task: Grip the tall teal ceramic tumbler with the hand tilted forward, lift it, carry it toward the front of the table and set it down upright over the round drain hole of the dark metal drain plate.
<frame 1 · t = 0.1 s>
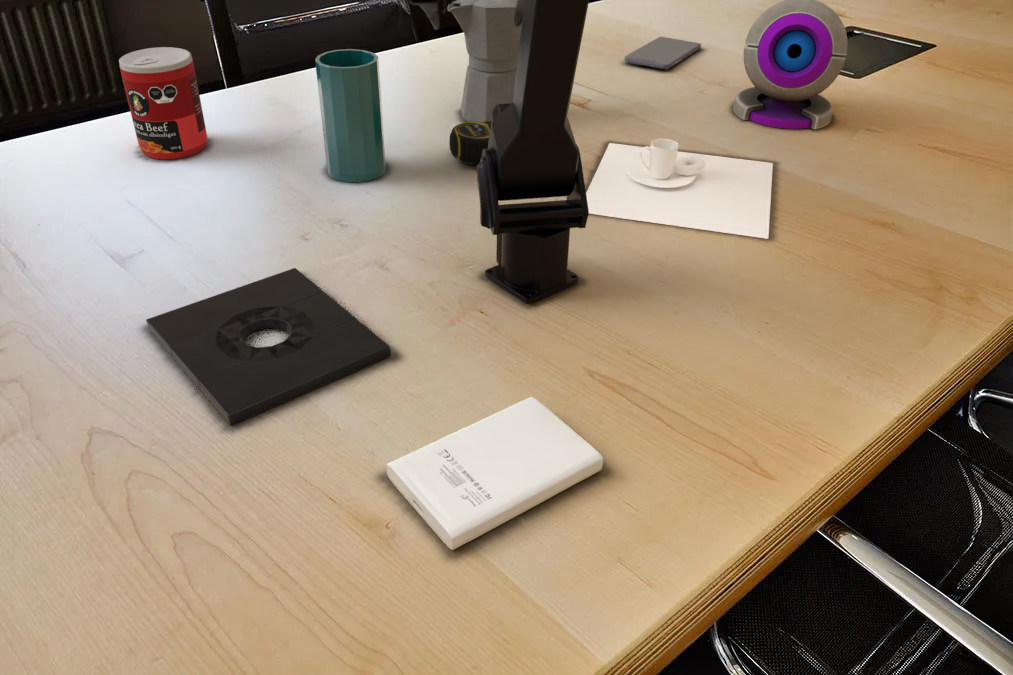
hand: (476, 25, 97), 15 cm above the table, tool tilted 35°, fingers open, 9 cm apart
hard drive: (495, 477, 59), on the table
tape measure: (483, 159, 103), on the table
teacup and saucer: (680, 187, 98), on the table
smartphone: (663, 56, 137), on the table
webcam: (781, 114, 118), on the table
coffeepot: (500, 115, 115), on the table
tumbler: (356, 170, 100), on the table
canned food: (175, 149, 104), on the table
drain plate: (267, 342, 71), on the table
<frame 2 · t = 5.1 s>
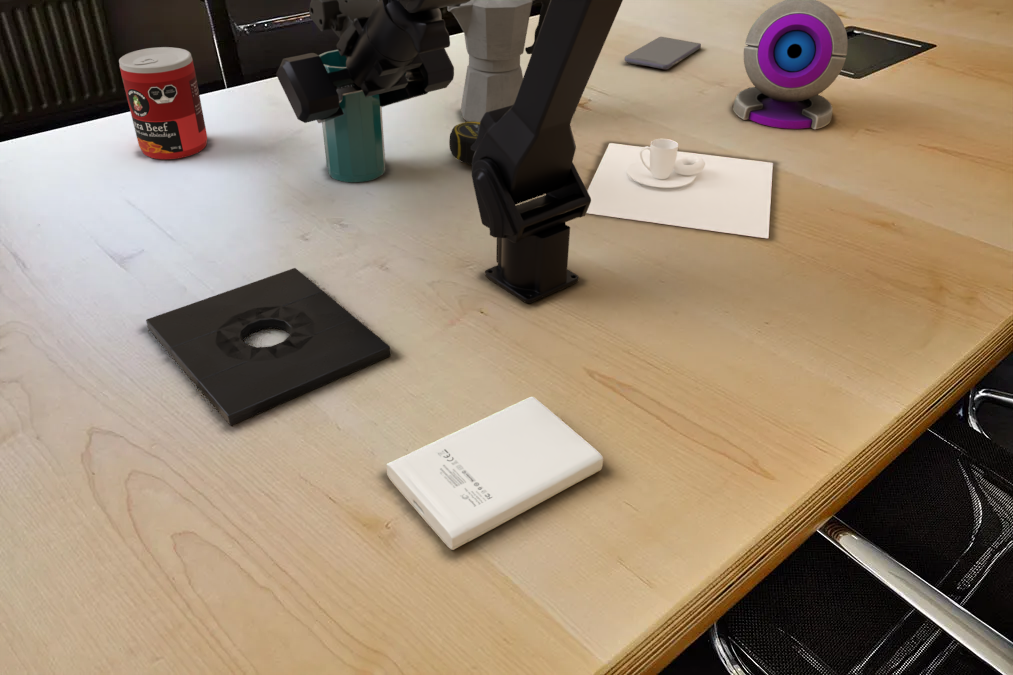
hand: (345, 111, 97), 7 cm above the table, tool tilted 45°, fingers closed on tumbler, 7 cm apart
tumbler: (356, 170, 100), on the table, touching gripper
everything else where it was.
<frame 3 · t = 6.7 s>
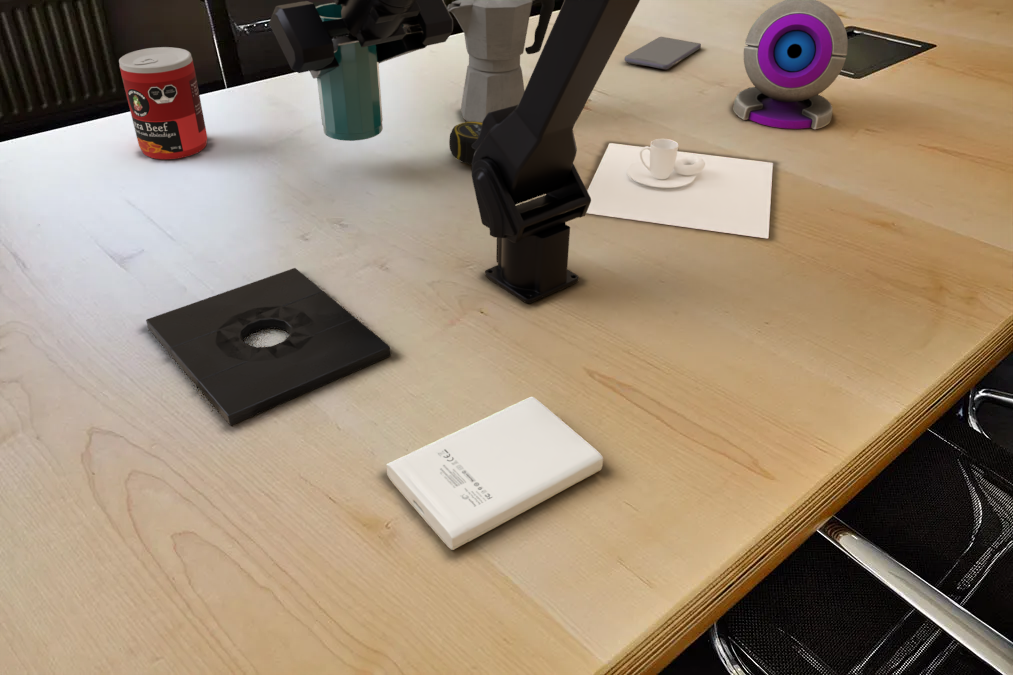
hand: (341, 68, 94), 12 cm above the table, tool tilted 45°, fingers closed on tumbler, 7 cm apart
tumbler: (353, 129, 97), point 5 cm above the table, touching gripper
everything else where it was.
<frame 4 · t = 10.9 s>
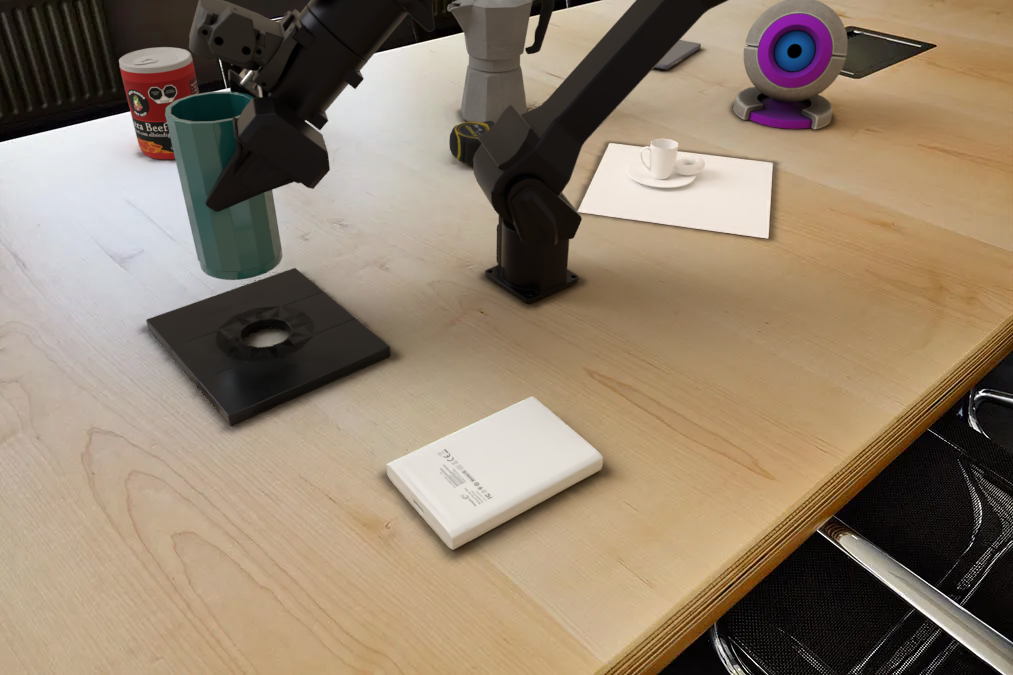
hand: (210, 187, 67), 13 cm above the table, tool tilted 45°, fingers closed on tumbler, 7 cm apart
tumbler: (241, 259, 71), point 6 cm above the table, touching gripper
everything else where it was.
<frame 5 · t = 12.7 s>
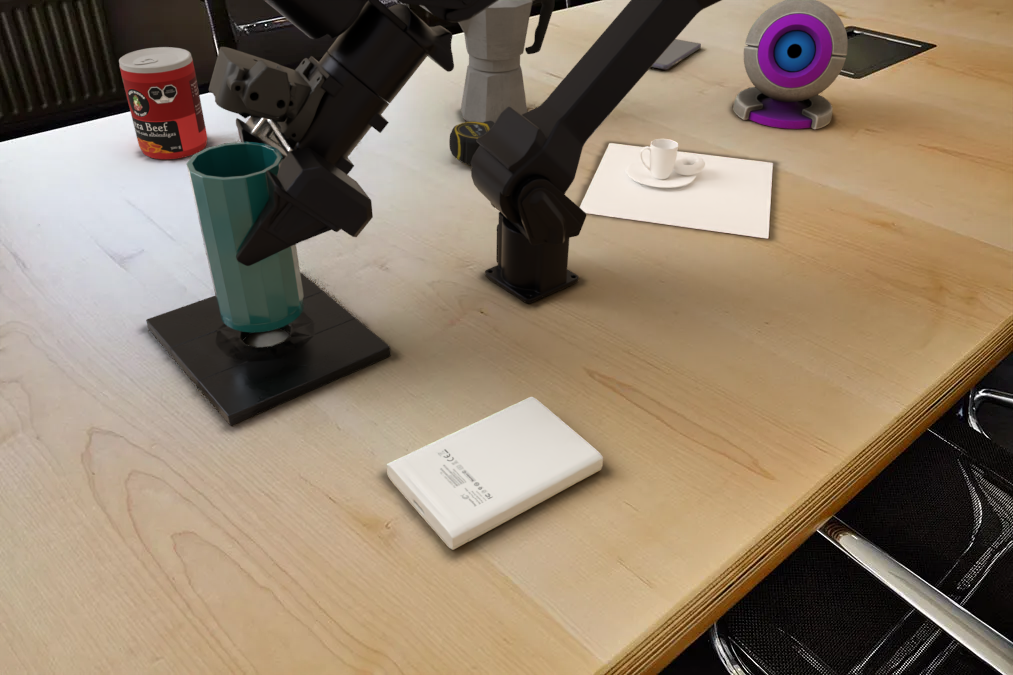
hand: (231, 240, 65), 10 cm above the table, tool tilted 45°, fingers closed on tumbler, 7 cm apart
tumbler: (262, 309, 69), point 3 cm above the table, touching gripper
everything else where it was.
when the fingers open (8 cm above the table, at t = 14.0 s): tumbler stays where it is, resting on drain plate.
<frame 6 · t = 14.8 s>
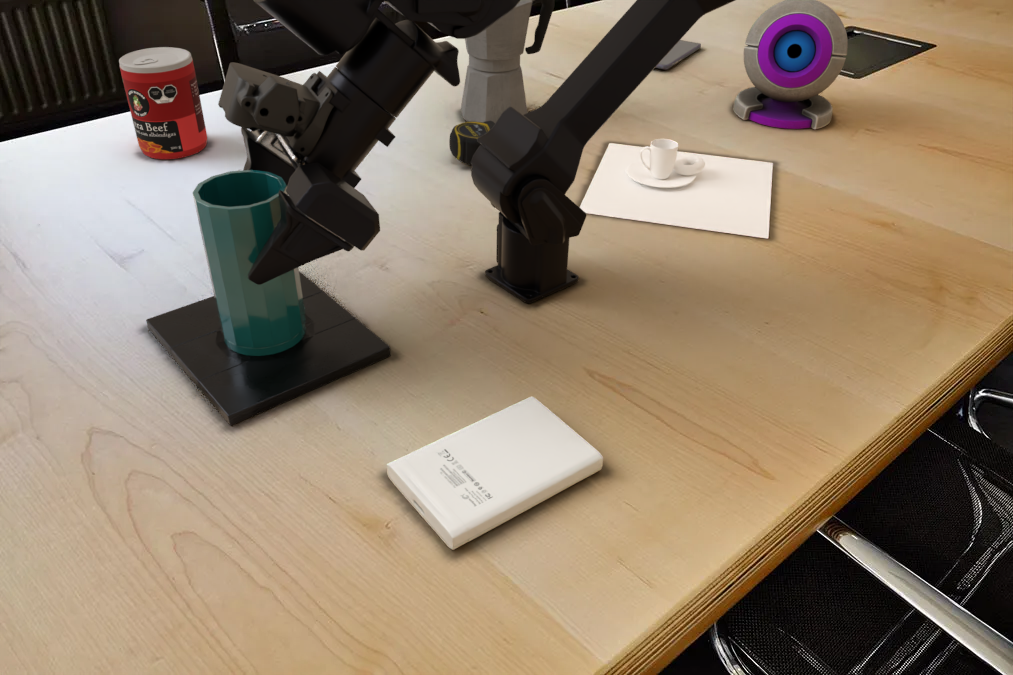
hand: (240, 252, 66), 9 cm above the table, tool tilted 45°, fingers open, 9 cm apart
tumbler: (265, 332, 71), point 1 cm above the table, touching drain plate
everything else where it was.
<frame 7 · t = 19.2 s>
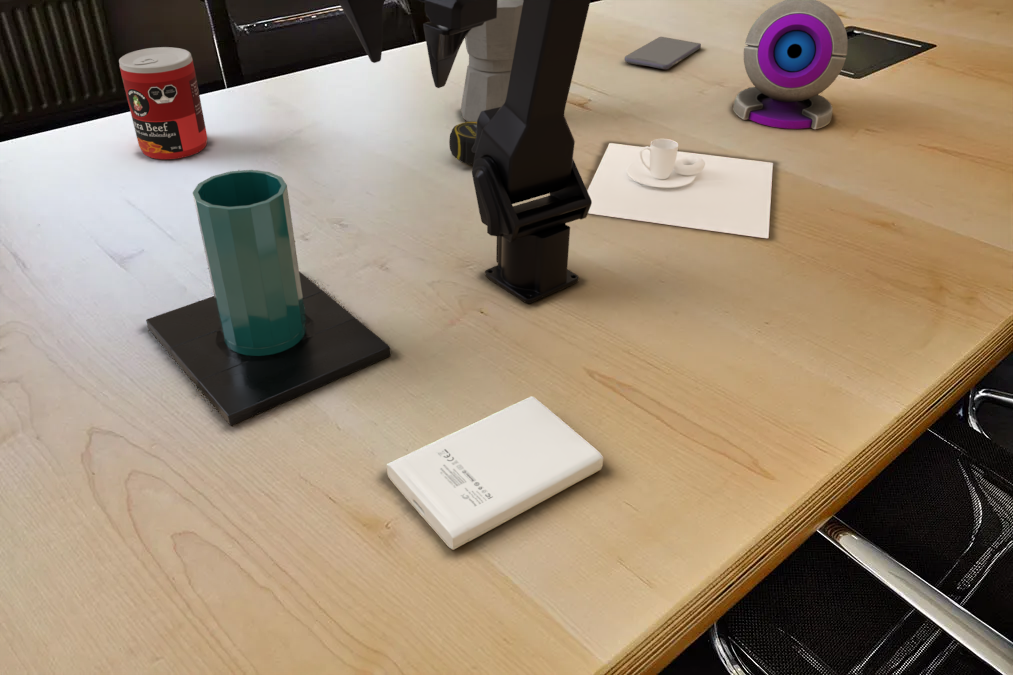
hand: (407, 73, 87), 13 cm above the table, tool pointing down, fingers open, 9 cm apart
nothing on the table moved.
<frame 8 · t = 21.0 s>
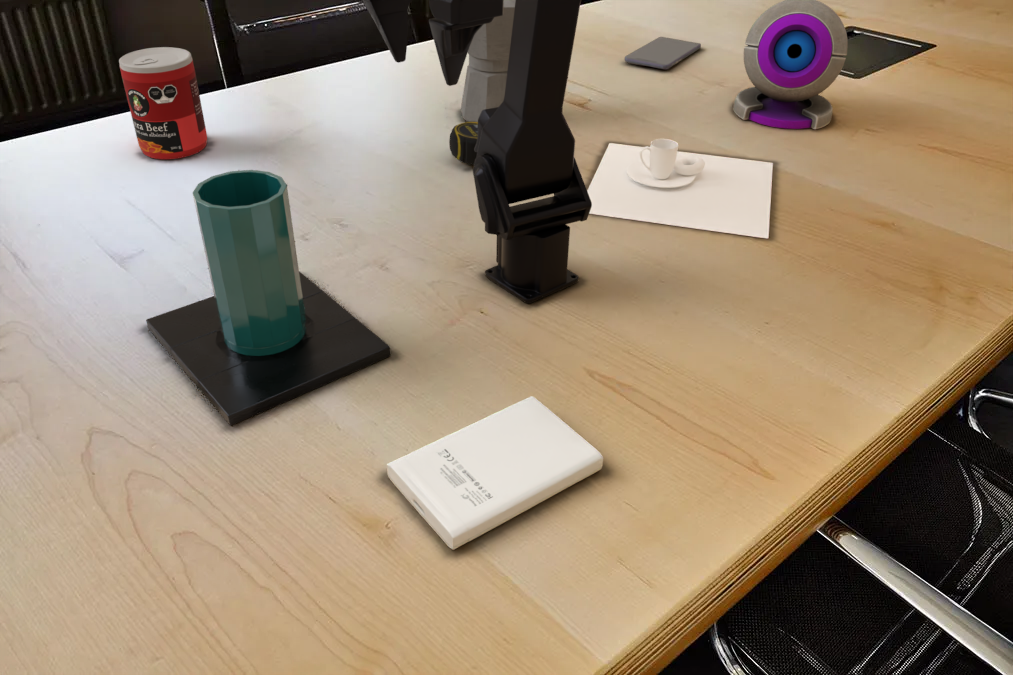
hand: (425, 72, 89), 13 cm above the table, tool pointing down, fingers open, 9 cm apart
nothing on the table moved.
at the end: tumbler 0.0 cm off-centre on the drain plate, point 1.0 cm above the drain plate's base; tumbler tilted 0°; the gripper is holding nothing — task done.
